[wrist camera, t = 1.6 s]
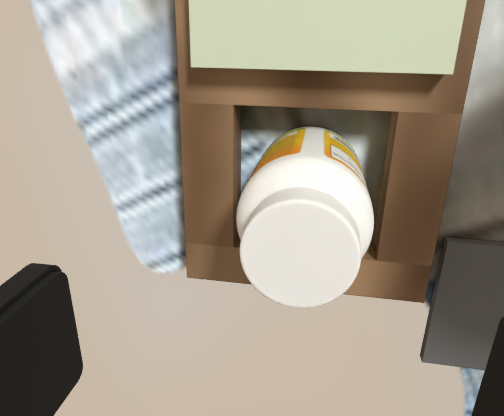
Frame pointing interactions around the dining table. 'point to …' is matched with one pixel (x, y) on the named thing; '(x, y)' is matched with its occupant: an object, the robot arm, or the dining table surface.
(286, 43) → the slide cover
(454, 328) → the pad
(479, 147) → the dining table surface
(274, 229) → the supplement bottle
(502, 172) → the dining table surface
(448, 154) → the well board
